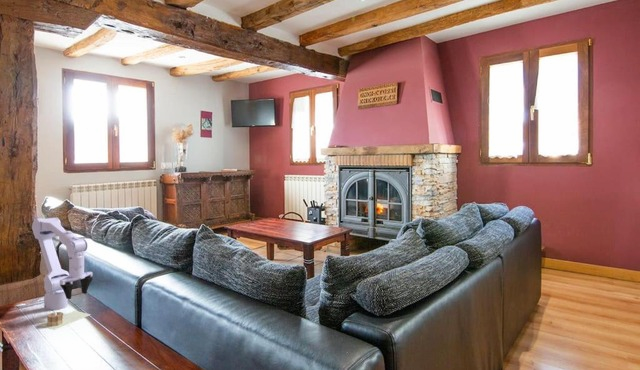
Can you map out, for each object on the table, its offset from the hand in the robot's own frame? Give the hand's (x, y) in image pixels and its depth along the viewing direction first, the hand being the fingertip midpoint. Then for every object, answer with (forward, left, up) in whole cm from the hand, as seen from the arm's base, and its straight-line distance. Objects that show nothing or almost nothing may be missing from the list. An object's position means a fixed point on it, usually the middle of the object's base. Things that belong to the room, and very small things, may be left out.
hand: (76, 295), depth 174 cm
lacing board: (+2, -7, -9) cm, 12 cm away
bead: (+2, -11, -8) cm, 14 cm away
